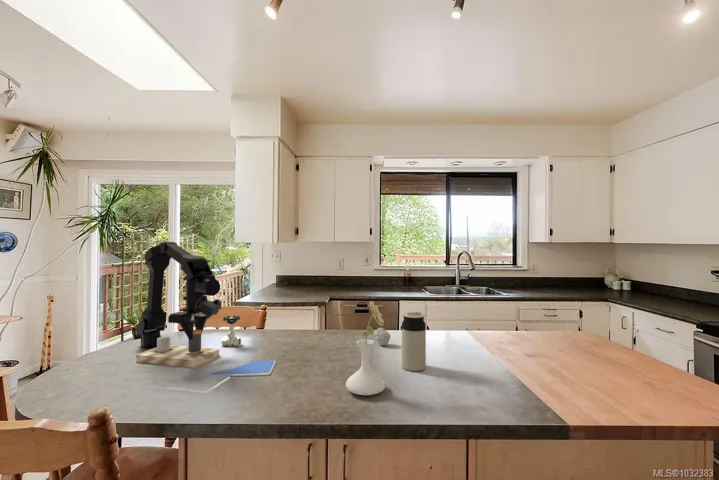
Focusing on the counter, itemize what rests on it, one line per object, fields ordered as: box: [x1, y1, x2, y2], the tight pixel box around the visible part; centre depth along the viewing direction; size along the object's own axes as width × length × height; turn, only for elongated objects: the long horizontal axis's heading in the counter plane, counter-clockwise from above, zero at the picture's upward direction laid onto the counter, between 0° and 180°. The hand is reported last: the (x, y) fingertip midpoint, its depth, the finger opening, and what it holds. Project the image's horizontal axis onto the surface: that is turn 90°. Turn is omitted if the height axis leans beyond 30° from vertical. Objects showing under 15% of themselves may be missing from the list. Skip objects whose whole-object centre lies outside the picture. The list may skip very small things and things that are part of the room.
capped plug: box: [187, 328, 202, 352], centre depth 117 cm, size 4×4×7 cm
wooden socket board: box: [135, 344, 220, 369], centre depth 119 cm, size 24×12×3 cm, turn 77°
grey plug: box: [157, 336, 171, 353], centre depth 120 cm, size 4×4×7 cm
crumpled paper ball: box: [373, 327, 391, 346], centre depth 137 cm, size 6×7×7 cm
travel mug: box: [401, 311, 427, 372], centre depth 113 cm, size 8×8×18 cm
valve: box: [221, 315, 242, 348], centre depth 134 cm, size 7×7×12 cm
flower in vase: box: [345, 300, 387, 396], centre depth 96 cm, size 13×11×25 cm
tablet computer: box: [209, 359, 277, 378], centre depth 111 cm, size 19×13×1 cm, turn 94°
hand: (194, 337), depth 117 cm, fingers closed on capped plug, 4 cm apart
